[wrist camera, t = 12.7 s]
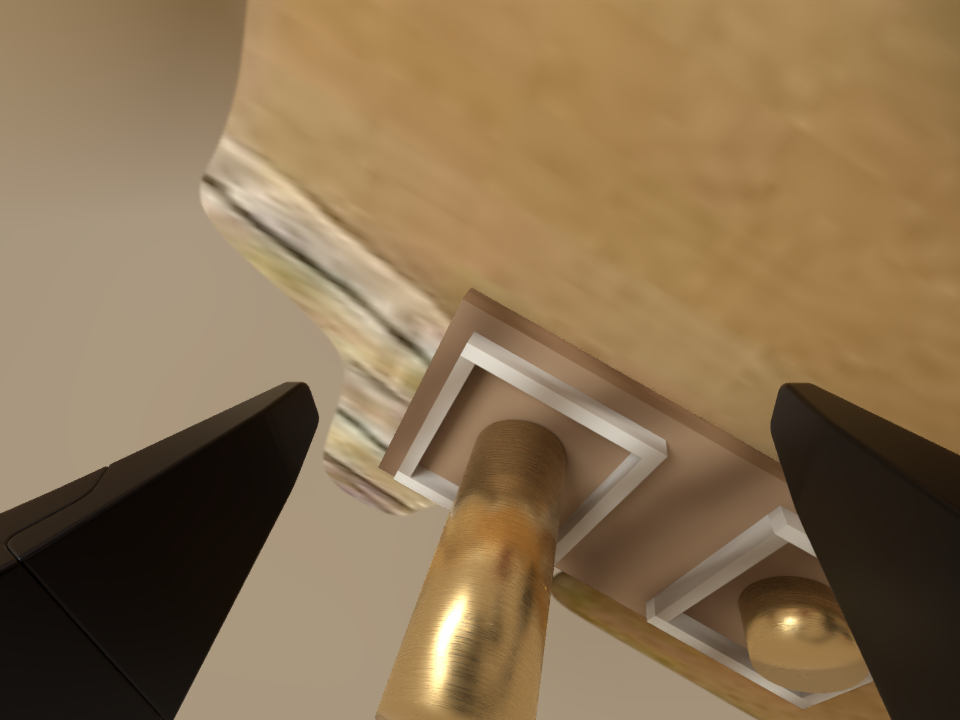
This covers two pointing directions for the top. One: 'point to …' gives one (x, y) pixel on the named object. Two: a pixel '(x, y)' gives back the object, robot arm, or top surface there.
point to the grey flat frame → (615, 479)
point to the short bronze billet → (799, 635)
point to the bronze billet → (486, 587)
